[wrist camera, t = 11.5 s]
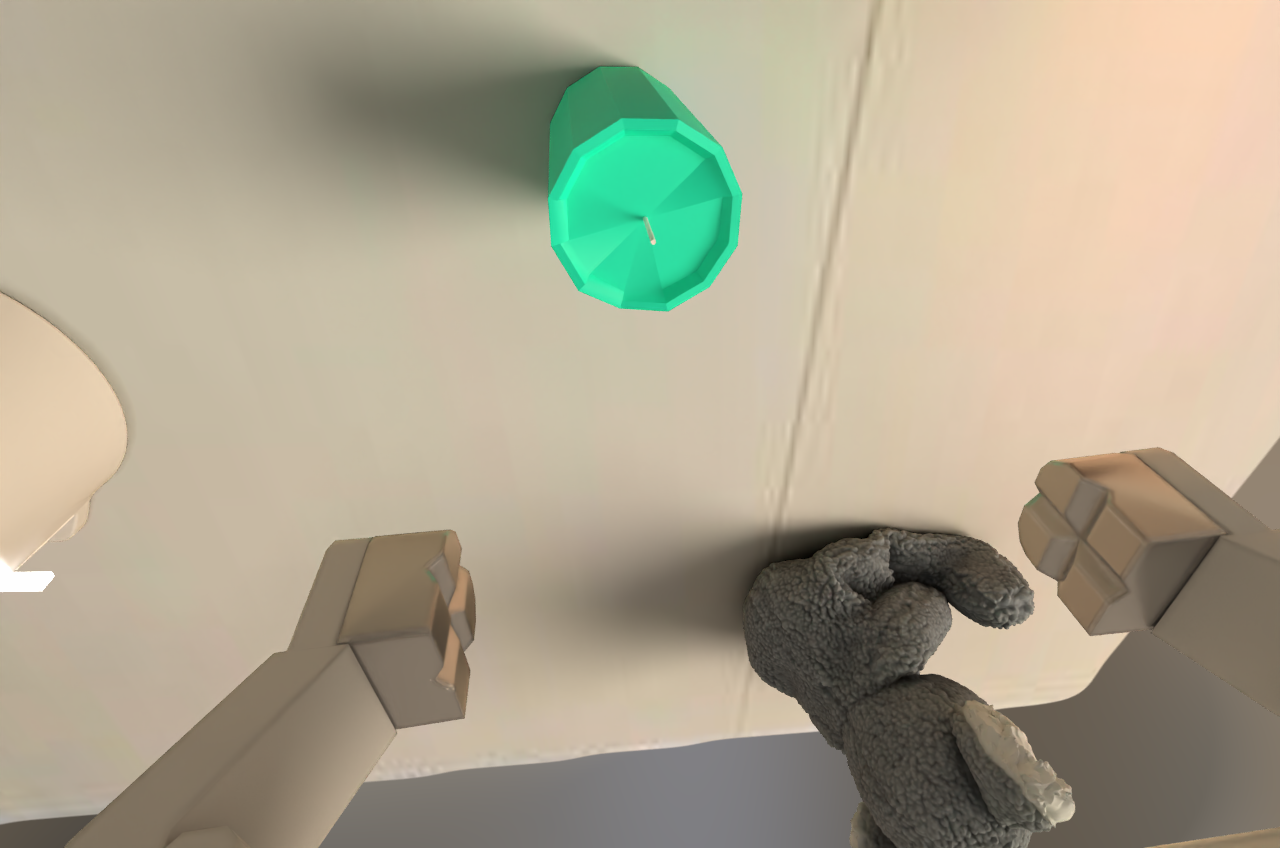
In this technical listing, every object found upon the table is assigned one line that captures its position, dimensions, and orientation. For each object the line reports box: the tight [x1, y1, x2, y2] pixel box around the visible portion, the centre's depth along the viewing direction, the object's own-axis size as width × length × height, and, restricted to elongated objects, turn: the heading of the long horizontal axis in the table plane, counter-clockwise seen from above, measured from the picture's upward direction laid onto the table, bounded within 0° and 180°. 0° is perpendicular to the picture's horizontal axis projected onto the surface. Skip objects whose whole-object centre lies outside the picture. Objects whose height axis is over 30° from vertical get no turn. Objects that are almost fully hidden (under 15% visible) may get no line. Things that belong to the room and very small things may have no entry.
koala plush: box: [743, 527, 1075, 848], centre depth 40 cm, size 17×18×20 cm
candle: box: [548, 66, 742, 311], centre depth 22 cm, size 6×6×12 cm
